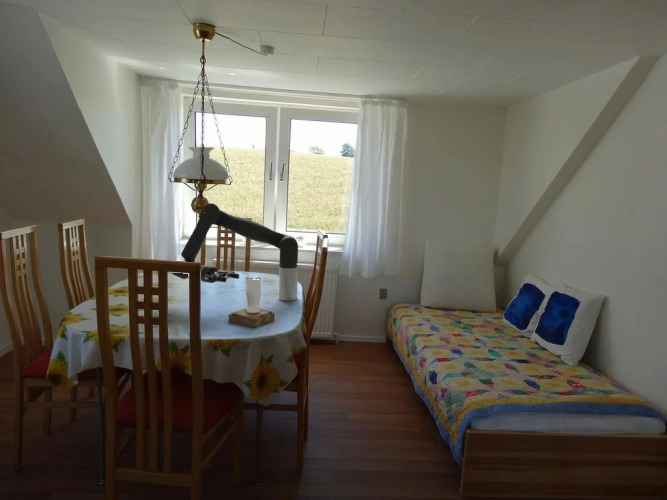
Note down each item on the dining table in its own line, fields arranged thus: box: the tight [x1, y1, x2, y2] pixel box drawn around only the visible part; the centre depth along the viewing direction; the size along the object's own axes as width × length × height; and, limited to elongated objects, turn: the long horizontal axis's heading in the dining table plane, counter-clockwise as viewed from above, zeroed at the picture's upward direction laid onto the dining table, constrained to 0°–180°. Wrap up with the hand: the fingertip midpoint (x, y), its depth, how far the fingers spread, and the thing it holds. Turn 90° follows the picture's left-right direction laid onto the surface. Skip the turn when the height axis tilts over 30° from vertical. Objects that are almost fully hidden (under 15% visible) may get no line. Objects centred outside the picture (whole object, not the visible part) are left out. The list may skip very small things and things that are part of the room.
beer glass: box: [244, 276, 262, 314], centre depth 195 cm, size 7×7×15 cm
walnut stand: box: [228, 307, 275, 329], centre depth 195 cm, size 14×14×4 cm
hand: (232, 278), depth 200 cm, fingers open, 8 cm apart
